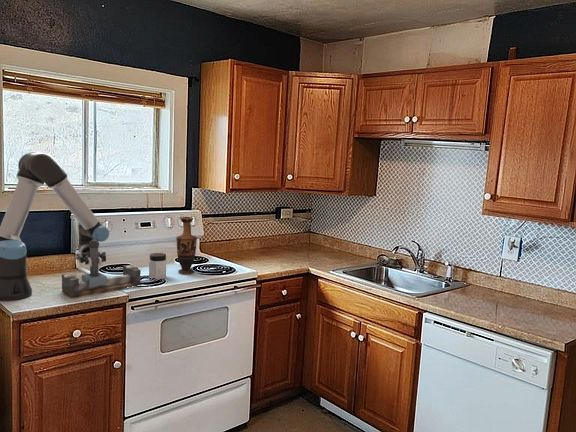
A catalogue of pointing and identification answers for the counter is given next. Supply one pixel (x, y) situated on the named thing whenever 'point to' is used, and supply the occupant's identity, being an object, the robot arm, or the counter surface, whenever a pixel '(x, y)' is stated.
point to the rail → (79, 289)
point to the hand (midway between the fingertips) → (95, 263)
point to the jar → (157, 265)
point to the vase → (186, 247)
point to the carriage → (94, 268)
